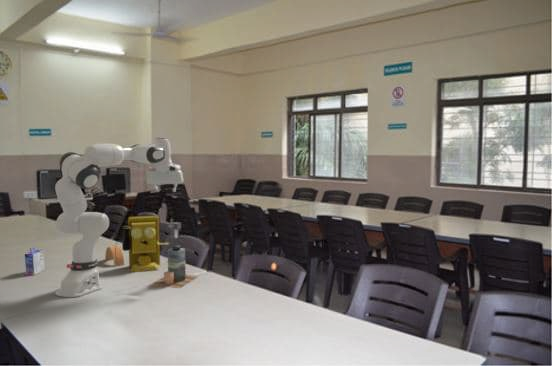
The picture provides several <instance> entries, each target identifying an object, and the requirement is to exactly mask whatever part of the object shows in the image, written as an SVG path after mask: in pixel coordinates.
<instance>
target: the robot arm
mask: <svg viewBox="0 0 552 366" xmlns="http://www.w3.org/2000/svg"><path fill="white" fill-rule="evenodd" d="M171 155H172V148H171V144H170V140H169V139H167V138H164V137H155V138H154V140H153V141H152V142H151V143H149V144H134V145H132V146H130V147H122V146H121V145H120V144H117V143H105V142H104V143H103V142H102V143H96V144H95V143H94V144H90V145H88V146H87V147H85V149H84V151H83V156H81V154H79V153H77V152H72V151H69V152H66V153H64V154H63V155H62V156H61V157H60V159H59V171H58V172H59V175H60V176H62V177H61V178H60V179H58V180H57V182H55V186H54V187H55V188H54V189H55V193H56V197H57V199H58V202H59V204H60V206H61V208H62V211H63V212H62V213H61V214H59V215H58V217H57V219H56V220H55V221H56V222H55V226H56V229H57V230H58V232H60V233H61V234H62V233H63V234H67V235H68V234H69V235H82V239H80V240H79V241H76V242H75V243H74V244H73V245H72V247H71V251H72V261H71V263H70V264H69V263H67V264H66V265H65V266H66V269H70V270H69V271H68V272H67V274H65V276H64V277H63V279H62V280H61V282H60V289H59V290H57V291H56V292H55V295H56V296H58V297H63V298H64V297H66V298H77V297H81V296H85V295H87V294H90V293H92V292H93V293H94V292H96V291H98V290H101V289H102V285H101V281H100V276H99V275H100V274H99V271H98V259H97V243H98V242H99V238H100V237H101V236H102V235H103V234H104V233H106V231H107V230H108V229H109V227H110V219H109V217H108V215H107V214H106V213H103V212H98V211H95V212H94V211H86V210H87V208H88V202H87V200H86V196H85V195H84V192H83V191H82V189H84V190H90V189H92V188H94V187H96V185H97V184H98V182H99V180H100V176H101V172H102V171H101V167H113V166H118V165H121V164H122V163H123V161H127V160H128V161H131V162H133V163H136V164H151V165H152V164H154V165H155V167H154V166H153V167H147V168H146V169H145V172H146V184H148V185H153V188H154V190H155V192H156V193H160V192H161V191H160V188H158V185H173V186H174V187H173V188H172V193H175V192H177V187H178V185H181V184H182V183H184V174H183V171H182V170H181V165H180V164H176V163H173V162H172V158H171Z"/></svg>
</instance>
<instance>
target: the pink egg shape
mask: <svg viewBox="0 0 552 366" xmlns="http://www.w3.org/2000/svg"><path fill="white" fill-rule="evenodd" d="M163 277H164V285H173V284H174V272H173V271H168V270H167V271H165V272H163Z"/></svg>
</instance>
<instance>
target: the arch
mask: <svg viewBox="0 0 552 366" xmlns="http://www.w3.org/2000/svg"><path fill="white" fill-rule="evenodd" d="M115 248H116V252H115ZM115 255H116V257H115ZM104 256H105V261H108V260H109V261H110V260H113V265H114V267H120V266H124V265H125V259H124V255H123V251H122V249H121V247H120V246H119V245H113V246H108V247H107V248H106V250H105V255H104ZM116 258H117V259H116ZM117 261H118V262H117ZM118 264H119V265H118Z"/></svg>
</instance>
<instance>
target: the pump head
mask: <svg viewBox="0 0 552 366" xmlns="http://www.w3.org/2000/svg"><path fill="white" fill-rule="evenodd" d="M181 229H182V222H178V221H176V222H175V221H174V222H171V223H170V225H167V226H166V230H174V239H178V237H179V235H178V233H179V232H178V231H179V230H181Z"/></svg>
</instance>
